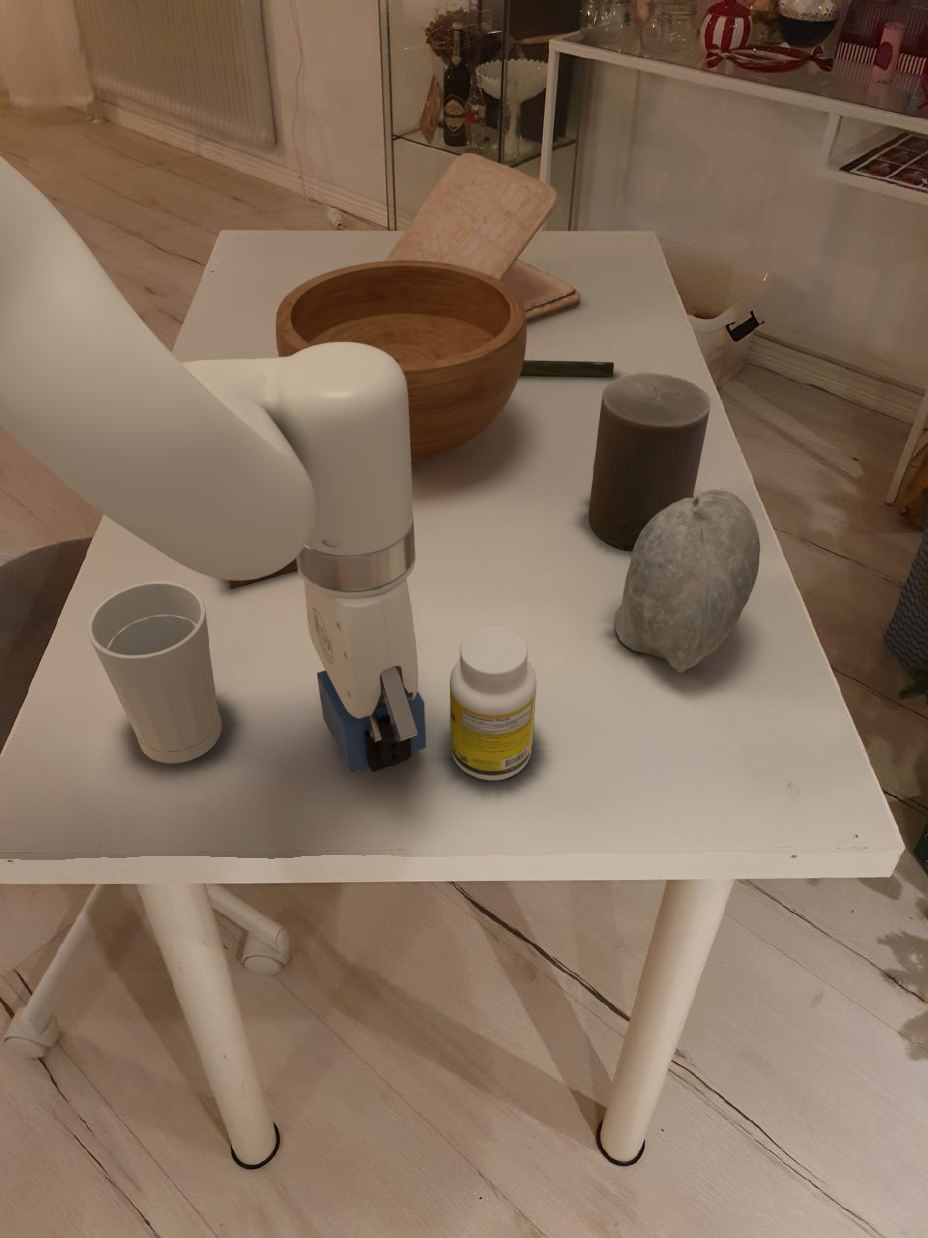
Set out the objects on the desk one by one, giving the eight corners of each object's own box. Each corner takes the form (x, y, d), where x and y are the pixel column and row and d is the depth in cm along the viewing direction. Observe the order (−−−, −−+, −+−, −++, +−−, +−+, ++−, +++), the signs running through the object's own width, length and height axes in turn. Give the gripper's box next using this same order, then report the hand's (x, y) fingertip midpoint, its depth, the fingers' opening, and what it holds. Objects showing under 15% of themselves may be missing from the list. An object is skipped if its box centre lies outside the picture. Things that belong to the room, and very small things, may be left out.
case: (375, 291, 135) (367, 169, 124) (495, 255, 144) (498, 138, 133) (463, 348, 123) (463, 218, 112) (588, 304, 132) (599, 180, 121)
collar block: (350, 775, 71) (344, 729, 67) (323, 718, 75) (316, 672, 71) (426, 747, 73) (424, 701, 69) (395, 693, 77) (392, 648, 73)
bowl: (242, 453, 105) (219, 320, 95) (393, 363, 120) (387, 240, 110) (424, 540, 94) (419, 401, 84) (565, 429, 109) (576, 300, 98)
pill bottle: (466, 712, 78) (466, 609, 70) (541, 732, 76) (549, 629, 69) (438, 771, 73) (436, 667, 66) (517, 793, 72) (524, 690, 64)
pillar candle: (610, 560, 92) (628, 420, 82) (574, 501, 99) (587, 365, 89) (705, 543, 94) (734, 404, 84) (663, 486, 101) (685, 352, 90)
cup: (216, 682, 80) (188, 568, 72) (245, 749, 75) (218, 636, 67) (118, 714, 77) (77, 600, 69) (140, 786, 72) (99, 672, 64)
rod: (612, 374, 118) (613, 359, 116) (612, 378, 117) (614, 363, 116) (352, 371, 118) (351, 355, 117) (352, 374, 118) (350, 359, 116)
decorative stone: (600, 578, 90) (618, 437, 80) (711, 574, 90) (743, 433, 80) (631, 699, 79) (657, 553, 69) (757, 693, 79) (801, 548, 69)
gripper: (257, 485, 66) (290, 672, 78) (345, 647, 54) (367, 836, 67) (362, 458, 68) (378, 644, 80) (467, 608, 57) (467, 798, 69)
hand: (373, 729), depth 73 cm, fingers closed on collar block, 6 cm apart
